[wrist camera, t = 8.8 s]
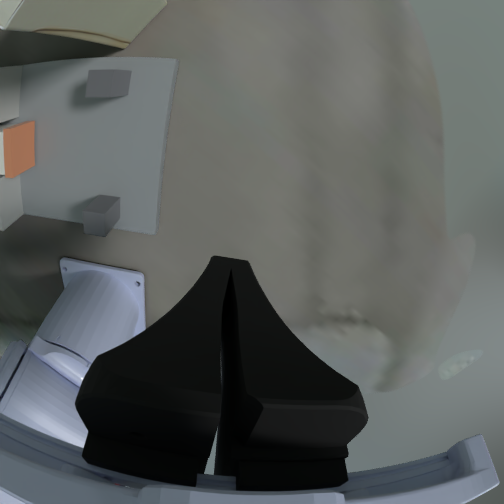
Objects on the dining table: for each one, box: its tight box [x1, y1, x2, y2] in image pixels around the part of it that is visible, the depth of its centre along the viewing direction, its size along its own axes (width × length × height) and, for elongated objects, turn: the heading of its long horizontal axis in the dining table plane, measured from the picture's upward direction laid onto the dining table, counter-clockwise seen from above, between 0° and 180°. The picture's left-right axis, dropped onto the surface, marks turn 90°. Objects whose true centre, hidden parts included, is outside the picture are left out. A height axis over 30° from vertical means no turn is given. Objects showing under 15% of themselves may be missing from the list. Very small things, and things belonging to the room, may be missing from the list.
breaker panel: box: [0, 57, 179, 237], centre depth 16 cm, size 12×21×4 cm, turn 79°
